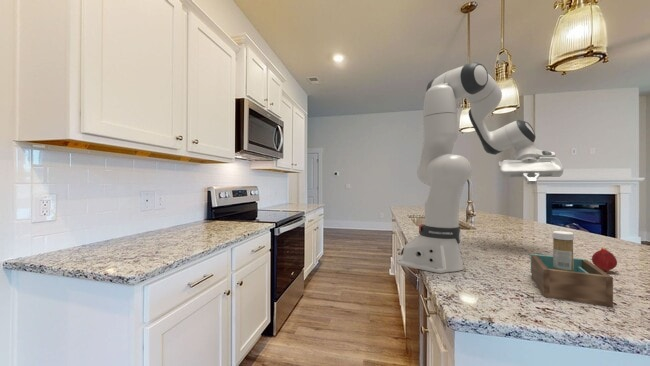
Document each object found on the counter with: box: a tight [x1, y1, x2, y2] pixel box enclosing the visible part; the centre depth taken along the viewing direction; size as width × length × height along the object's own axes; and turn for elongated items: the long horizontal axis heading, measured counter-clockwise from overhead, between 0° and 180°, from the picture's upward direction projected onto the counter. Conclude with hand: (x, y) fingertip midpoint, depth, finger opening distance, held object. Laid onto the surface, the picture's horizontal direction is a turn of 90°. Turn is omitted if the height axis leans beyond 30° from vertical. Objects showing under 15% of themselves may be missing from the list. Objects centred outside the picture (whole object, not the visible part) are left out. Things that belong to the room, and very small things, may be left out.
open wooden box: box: [531, 255, 614, 308], centre depth 75 cm, size 13×16×7 cm
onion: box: [591, 246, 618, 273], centre depth 90 cm, size 6×6×8 cm
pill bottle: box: [551, 230, 575, 272], centre depth 77 cm, size 5×5×14 cm
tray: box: [530, 253, 588, 274], centre depth 77 cm, size 13×14×6 cm
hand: (532, 182), depth 105 cm, fingers closed
